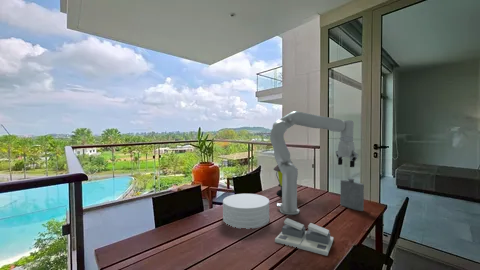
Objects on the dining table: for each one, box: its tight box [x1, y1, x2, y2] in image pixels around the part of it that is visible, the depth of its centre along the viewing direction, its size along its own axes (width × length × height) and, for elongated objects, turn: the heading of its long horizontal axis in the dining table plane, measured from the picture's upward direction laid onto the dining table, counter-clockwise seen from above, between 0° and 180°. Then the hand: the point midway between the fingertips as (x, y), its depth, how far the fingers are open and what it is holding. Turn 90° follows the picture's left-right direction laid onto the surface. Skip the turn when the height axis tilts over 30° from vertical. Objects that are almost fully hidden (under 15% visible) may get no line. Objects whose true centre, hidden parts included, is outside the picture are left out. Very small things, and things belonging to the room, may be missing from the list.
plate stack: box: [222, 193, 270, 230], centre depth 140 cm, size 28×28×12 cm
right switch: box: [307, 222, 330, 236], centre depth 110 cm, size 9×4×1 cm, turn 59°
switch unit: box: [274, 223, 335, 257], centre depth 112 cm, size 24×16×4 cm, turn 59°
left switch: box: [283, 217, 305, 230], centre depth 116 cm, size 9×4×1 cm, turn 59°
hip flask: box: [339, 177, 365, 212], centre depth 157 cm, size 16×4×20 cm, turn 34°
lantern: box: [273, 160, 299, 197], centre depth 188 cm, size 25×19×30 cm
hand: (346, 165), depth 150 cm, fingers open, 9 cm apart
